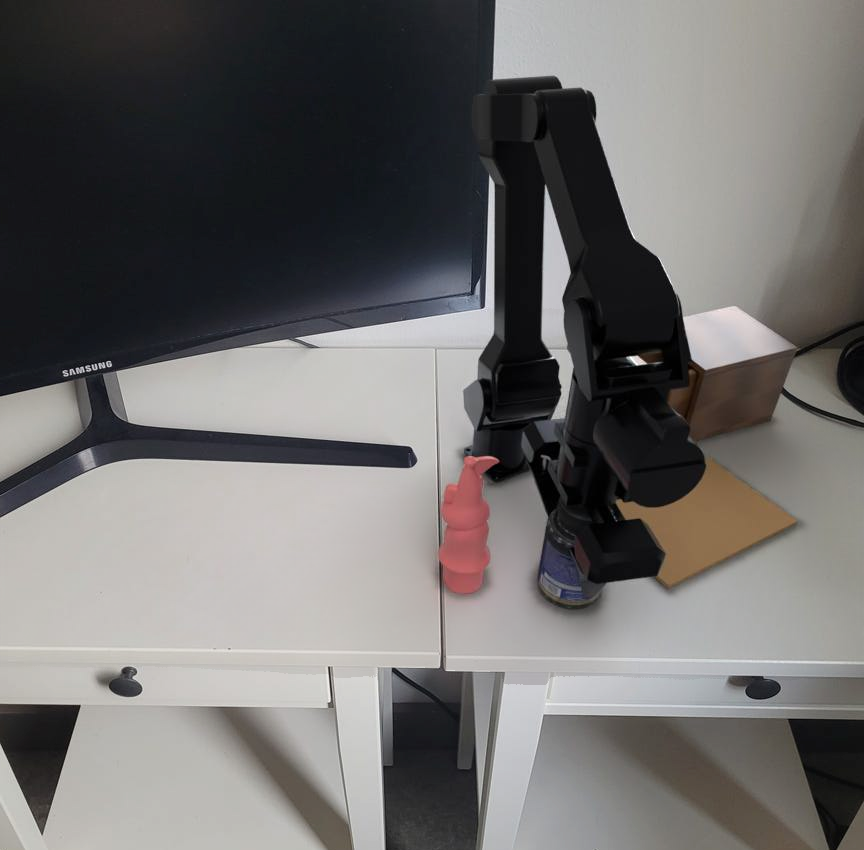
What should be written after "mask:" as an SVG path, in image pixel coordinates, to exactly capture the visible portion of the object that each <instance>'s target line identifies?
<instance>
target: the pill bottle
mask: <svg viewBox="0 0 864 850" xmlns="http://www.w3.org/2000/svg"><path fill="white" fill-rule="evenodd" d="M546 519H547V520H546V523H545V529H544V535H543V540H542V541H543V542H542V547H541V552H540V557H539V563H538V571H537V575H536V576H537V577H536V582H537V587H538V590H539V591H540V594H541V595H542V596H543V597H544V598H545V599H546V600H547V601H548V602H550V603H552V604H553V605H555V606H557V607H560V608H562V609H568V610H582V609H585V608H588V607H589V606H592V605H594V603H596V601H597V600H598V599H599V598H600V597H601V595H602V592H603V588H602V589H601V590H600V591H599V592H598V593H597V594H596V595H595V596H590V597H584V595H583V593H582V590H581V587H580V584H579V580H578V577H577V573H576V569H575V566H574V562H573V559H572V556H571V552H570V548H573V547H574V540H575V535H576V534H577V533H578V532H579V531H581V530H582V529H583V528H585V527H586V526H587V525H590V524H594V523H593V521H592V519H591V517H590V516H589V514H588V512H587V510H586V508H584V507H581V506H579V505H570V506H566V505H565V503H564V501H563V499H562V497H561V495H560V498H559V502H558V507H557V508H556V509H555V510H554V511H553V512H552V513H551V514H550V515H549V517H547V518H546Z"/></svg>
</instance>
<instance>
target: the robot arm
mask: <svg viewBox="0 0 864 850" xmlns="http://www.w3.org/2000/svg"><path fill="white" fill-rule="evenodd" d="M596 120H597V103H596V97H595V95H594V94H593V92H592V91H590V90H588V89H584V88H583V87H567V88H563V85H562V82H561V81H560V79H559V78H558V77H557V76H555V75H541V76H540V75H539V76H527V77H512V78H495V79H488V80H487V81H485V84H484V85H483V88H482V91H481V93H480V94H479V93H478V94H475V95H474V96H473V99H472V101H471V106H470V124H471V131H472V134H473V136H474V138H476V153H477V156H478V158H479V160H480V161H481V163H482V165H483V167H484V168H485V170H486V172H487V173H488V175H489V177H490V179H491V180H492V182H493V185H494V186H493V187H494V217H493V218H494V220H493V221H494V226H493V227H494V229H493V230H494V231H493V232H494V237H493V239H494V242H493V244H494V245H493V246H494V247H493V249H494V250H493V254H494V255H493V257H494V259H493V261H494V262H493V263H494V264H493V301H494V302H493V334H492V336H491V338H490V340H489V341H488V342H487V344H486V346H485V347H484V349H483V350H482V352H481V354H480V355H479V357H478V361H477V377H476V379H475V380H474V381H473V382H471V383H470V384H468V385H467V386H466V387H465V388H464V389H463V391H462V394H463V408H464V411H465V413H466V415H467V417H468V419H469V421H470V423H471V425H472V427H473V434H472V435H473V437H472V445H469V446H466V447H464V449H463V454H464V455H465V457H467V456H473V457H475V458H477V457H482V456H491V457H494V458H496V459H498V460H499V463H497V464H495V465H493V466H492V467H490V468H489V469H488V470H486V471H485V472H484V473H483V474H485V475H486V477H487V478H489V479H490V480H491V481H492V482H493V483H500V482H503V481H505V480H507V479H509V478H513V477H515V476H518V475H520V474H522V473H525V472H527V471H530V473H531V477H532V479H533V481H534V485H535V488H536V490H537V492H538V495H539V498H540V501H541V503H542V506H543V509H544V511H545V514H546V516H547V518H548V517H549V515H550V514H551V513H552V512H553V511H554V510H555V509H556V508H557V507H558V502H559V498H560V495H561V497H562V499H563V501H564V503H565V505H566V506H570V505H579V506H581V507H584V508H586V510H587V512H588V514H589V516H590V517H591V519H592V521H593V523H594V524H590V525H587V526H586V527H585V528H583V529H582V530H581V531H579V532H578V533H577V534H576V535H575V540H574V547H573V548H570V552H571V556H572V559H573V562H574V566H575V569H576V573H577V577H578V580H579V584H580V587H581V590H582V593H583V595H584V597H590V596H595V595H596V594H597V593H598V592H599V591H600V590H601V589H602V590H603V588H604V587H605V586H606V585H607V584H608V583H609V584H610V583H617V582H624V581H632V580H637V579H638V580H639V579H646V578H653V577H654V576H658V574H659V573H660V571H661V569H662V566H663V562H664V559H665V556H666V553H665V551H664V550H663V548H662V546H661V545H660V543H659V542H658V540H657V538H656V537H655V535H654V533H653V532H652V530H651V528H650V527H649V525H648V524H646V523H645V522H644V521H643V520H642V519H640V518H637V519H629V520H626V519H625V518H624V516H623V514H622V513H621V511H620V509H619V507H618V506H617V504H616V500H619V499H621V500H622V501H623V503H627V502H635V503H636V504H638V505H640V506H643V507H647V508H657V507H663V506H666V505H669V504H672V503H674V502H676V501H678V500H680V499H682V498H683V497H684V496H686V495H687V494H689V493H690V492H691V491H692V490H693V489H694V488H695V487H696V486H697V484H698V483H699V482H700V480H701V479H702V477H703V475H704V473H705V470H706V464H705V460H706V456H705V453H704V452H703V449H702V448H701V447H700V445H699V444H697V441H694V440H693V439H692V438H691V436H690V435H689V434H690V430H691V429H690V425H689V424H688V423H687V422H686V421H685V419H684V418H683V417H682V416H681V415H679V414H678V413H676V412H675V411H674V410H673V409H672V407H671V406H670V405H669V404H668V403H667V399H668V395H669V391H670V390H677V389H684V388H689V386H690V377H689V368H688V364H689V363H691V362H692V358H691V353H690V348H689V344H688V339H687V335H686V330H685V325H684V321H683V317H684V316H683V307H682V303H681V300H680V299H681V298H680V296H679V295H678V293H677V291H676V289H675V287H674V285H673V284H672V281H671V279H670V277H669V275H668V273H667V271H666V269H665V266H664V264H663V262H662V261H661V258H659V257H658V256H657V255H656V254H655V253H653V252H652V251H651V250H649V249H648V248H647V247H646V246H644V245H643V244H641V243H640V241H638V240H637V239H636V238H635V235H634V234H633V231H632V229H631V227H630V224H629V221H628V217H627V215H626V212H625V209H624V205H623V203H622V200H621V196H620V193H619V191H618V188H617V185H616V182H615V179H614V175H613V172H612V169H611V166H610V164H609V160H608V157H607V154H606V151H605V148H604V145H603V142H602V139H601V135H600V132H599V130H598V126H597V124H596V122H597V121H596ZM547 194H548V196H549V200H550V203H551V208H552V211H553V214H554V217H555V220H556V223H557V227H558V229H559V233H560V234H559V235H560V237H561V241H562V245H563V247H564V250H565V253H566V258H567V261H568V267H569V271H570V272H569V273H570V274H569V277H568V279H567V283H566V285H565V288H564V291H563V295H562V297H561V301H562V307H563V330H564V336H565V339H566V343H567V344H566V350H567V351H568V353H569V354H570V358H571V361H572V366H573V367H572V374H571V380H570V386H569V391H568V397H567V398H568V399H567V404H566V409H565V416H564V417H561V418H553V416H554V413H555V411H556V410H557V407H558V404H559V402H560V399H561V396H562V388H563V387H562V383H561V381H560V377H559V376H560V367H561V366H560V364H559V362H558V360H557V359H556V358H555V357H554V356H553V354H552V353H551V352H550V350H549V348H548V347H547V344H546V343H545V342H544V340H543V334H542V333H543V332H542V331H543V296H544V271H545V269H544V268H545V267H544V265H545V235H546V233H545V232H546V203H547V202H546V201H547V200H546V199H547ZM655 353H662V356H663V360H664V362H659V363H651V364H643V365H638V364H637V363H636V362H635V361H634V359H633V358H632V356H639V355H647V354H655ZM552 418H553V419H552ZM654 578H655V577H654Z"/></svg>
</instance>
